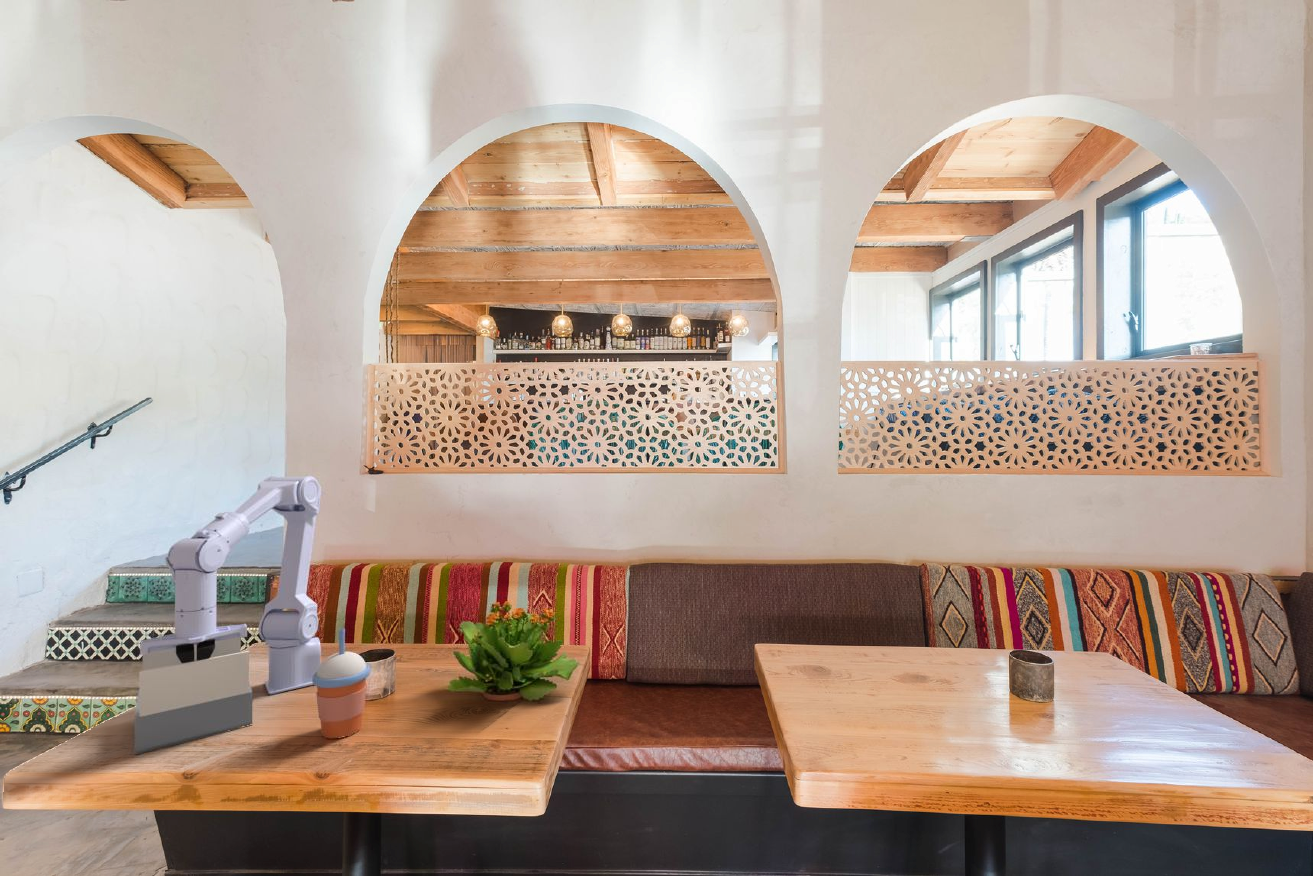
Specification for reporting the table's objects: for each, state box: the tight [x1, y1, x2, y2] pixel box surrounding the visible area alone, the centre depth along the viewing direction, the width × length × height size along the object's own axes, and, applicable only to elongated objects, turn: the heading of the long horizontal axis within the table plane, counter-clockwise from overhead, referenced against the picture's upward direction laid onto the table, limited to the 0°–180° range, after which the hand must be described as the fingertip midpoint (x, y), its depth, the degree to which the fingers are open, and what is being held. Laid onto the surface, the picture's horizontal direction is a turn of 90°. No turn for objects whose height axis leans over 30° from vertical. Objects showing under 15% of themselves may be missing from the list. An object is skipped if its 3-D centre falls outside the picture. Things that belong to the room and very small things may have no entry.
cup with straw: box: [312, 628, 371, 739], centre depth 105 cm, size 9×9×18 cm
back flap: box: [142, 637, 242, 671], centre depth 114 cm, size 15×8×1 cm
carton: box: [134, 683, 253, 756], centre depth 108 cm, size 16×16×6 cm
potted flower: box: [446, 600, 580, 702], centre depth 121 cm, size 25×24×18 cm
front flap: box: [138, 650, 250, 717], centre depth 102 cm, size 15×8×1 cm
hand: (195, 686), depth 103 cm, fingers closed, pressing on front flap
